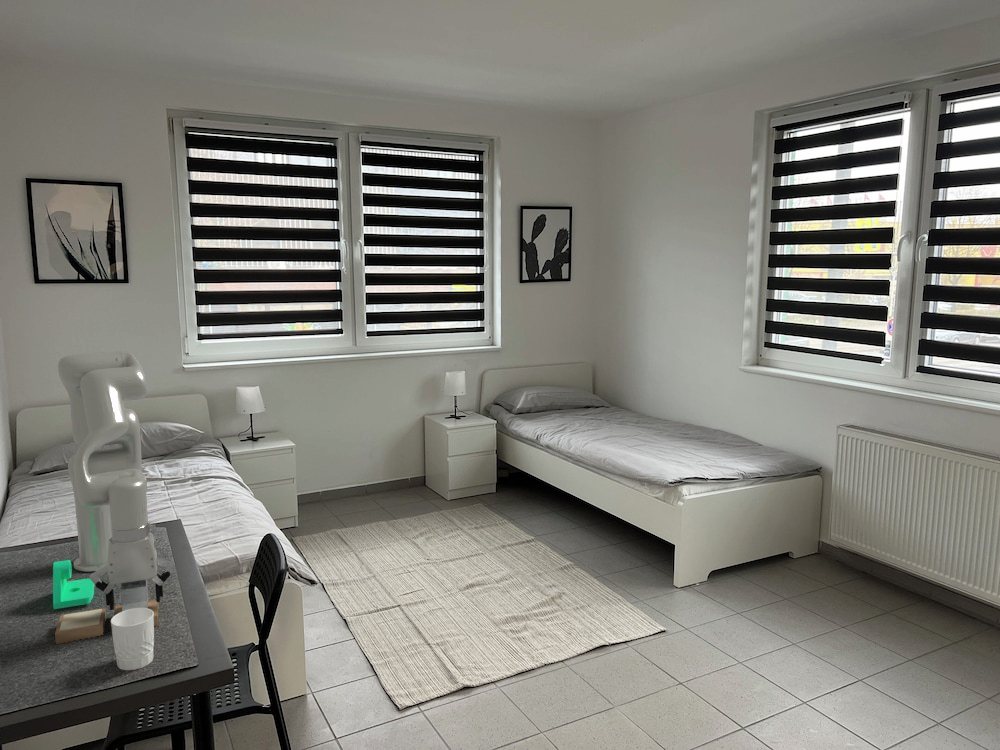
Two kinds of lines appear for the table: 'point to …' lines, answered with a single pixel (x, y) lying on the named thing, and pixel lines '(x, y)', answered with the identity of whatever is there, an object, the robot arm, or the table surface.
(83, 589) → the camera mount
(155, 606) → the stand
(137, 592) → the block
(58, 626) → the stand
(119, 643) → the white cup
